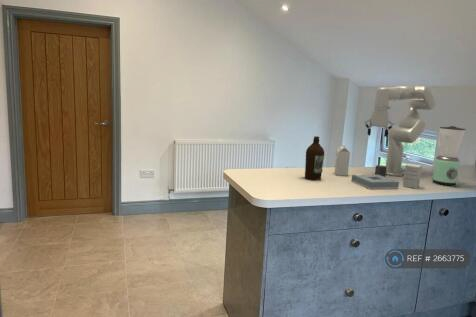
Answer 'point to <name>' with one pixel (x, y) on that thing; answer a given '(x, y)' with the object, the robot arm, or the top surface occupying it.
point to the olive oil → (314, 160)
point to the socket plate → (375, 181)
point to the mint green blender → (448, 155)
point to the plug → (380, 170)
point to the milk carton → (342, 161)
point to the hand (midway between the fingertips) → (377, 136)
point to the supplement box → (412, 176)
